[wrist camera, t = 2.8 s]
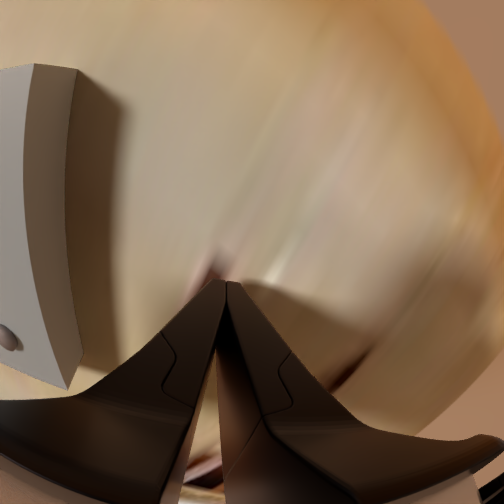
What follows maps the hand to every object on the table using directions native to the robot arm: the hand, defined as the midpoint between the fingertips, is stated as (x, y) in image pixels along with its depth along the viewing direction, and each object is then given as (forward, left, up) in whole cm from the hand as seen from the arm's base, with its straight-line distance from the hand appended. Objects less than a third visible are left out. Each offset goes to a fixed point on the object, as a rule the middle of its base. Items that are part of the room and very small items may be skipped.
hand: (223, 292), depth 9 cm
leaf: (0, +10, -1) cm, 10 cm away
